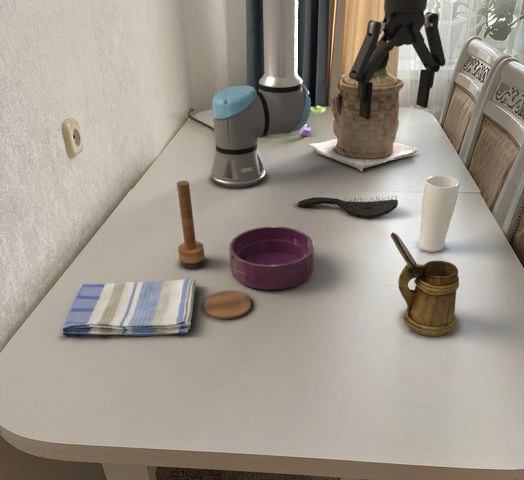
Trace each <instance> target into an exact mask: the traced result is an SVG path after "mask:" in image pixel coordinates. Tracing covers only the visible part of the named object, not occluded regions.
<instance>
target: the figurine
mask: <svg viewBox="0 0 524 480" xmlns="http://www.w3.org/2000/svg"><path fill="white" fill-rule="evenodd" d="M325 111H326V107H324V106H321V105H316V109H315V108H314V107H313V106H311V108H310V112H312V113H313V114H316V115H318V114H322V113H324V112H325ZM311 130H312V127H311V126H310V125H309V124H307V123H306V124H305V125H304V126H303V127H302V128H301V129H299V130H297V132H298V133H299V135H300V136H304V137H308V136H309V135H310V133H311Z"/></svg>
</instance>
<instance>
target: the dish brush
mask: <svg viewBox="0 0 524 480" xmlns="http://www.w3.org/2000/svg"><path fill="white" fill-rule="evenodd" d="M176 189H177V197H178V205H179V212H180V220H181V226H182V227H181V228H182V235H183V242H182V243H180V244H178V246H177V251H178V258H179V261H180V265H181V267H182V268H184V269H186V270H197V269H199V268H201V267H202V266H204V264H205V249H204V248H205V247H204V244H203V243H202V242H200V241H197V240H196V232H195V231H196V230H195V223H194V216H193V215H194V214H193V213H194V212H193V205H192V196H191V189H190V182H189V181H188V180H179V181H177V182H176Z"/></svg>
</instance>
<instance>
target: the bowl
mask: <svg viewBox="0 0 524 480" xmlns="http://www.w3.org/2000/svg"><path fill="white" fill-rule="evenodd" d="M228 252H229V263H230V272H231V274H232V277H233V278H234V279H235V280H236V281H238V282H239V283H241V284H243V285H245V286H248V287H250V288H253V289H256V290H262V291H263V290H264V291H279V290H285V289H291V288H292V287H295V286H297V285H300V284H301V283H303V282H305V281H307V280H308V279H309V278H310V277H311V276H312V273H313V271H314V261H315V259H314V258H315V243H314V241H313V239H312V238H311V237H310V235H308V234H307V233H305V232H303V231H301V230H298V229H295V228H292V227H286V226H279V225H278V226H261V227H255V228H252V229H247V230H244V231H243V232H241V233H239V234H237V235H236V236H234V237H233V239H232V240H231V241H230V243H229V249H228Z"/></svg>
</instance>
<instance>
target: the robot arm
mask: <svg viewBox="0 0 524 480" xmlns="http://www.w3.org/2000/svg"><path fill="white" fill-rule="evenodd" d="M428 2H429V0H384V1H383V11H384V17H383V20H382V21H376V20H373V19H370V20H369V21H368V22H367V28H366V34H365V36H364V38H363V41H362V44H361V46H360V48H359V51H358V53H357V55H356V57H355V59H354V62H353V64H352V67H351V69H350V71H349V73H350V74H349V73H348V74H349V77H350V78H351V79H354V80H356V81H358V94H357V98H358V100H360V110H359V116H361V117H362V118H364V119H366V120H367V119H370V110H371V98H372V87H373V83H371V82H369V81H370V79H371V78H372V76H373V75H374V73H375V72H376V70H377V69H378V67H379V66H380V64H381V63H382V61H383V60H384V58H385V57H386V55H387V54H388V52H389V53H390V52H391V51H393V50H394V48H395V47H403V46H410V45H411V46H412V47H413V49H414V51H415V53H416V54H417V56H418V58H419V60H420V62H421V63H422V65H423V67H424V69H420V73H419V80H418V86H417V95H416V102H415V105H416V106H419V107H421V108H423V109H426V108H428V105H429V98H430V91H431V89H433V87H434V81H435V74H436V73H438V72H439V71H440V69H441V67H444V66H445V65H446V58H445V57H446V56H445V54H444V48H443V44H442V39H441V34H440V31H439V30H440V29H439V14H438V13H434V12H431V11H427V12H426V13H425V11H426V10H427V8H428ZM262 9H263V10H262V12H263V13H262V14H263V21H262V23H263V59H264V60H263V61H264V62H263V63H264V64H263V65H264V66H263V68H264V74H263V75H262V77H260V79H259V80H258V90H256V88H255V87H254V86H251V85H236V86H230V87H228V88H224V89H222V90H220V91H218V92H217V93H216V94H215V95H214V96H213V97H212V112H211V115H212V121H213V122H212V123H213V126H211V125H209V124H207V123H205V122H203V121H201V120H199V119H197V118H195V117H193V116H191V113H192V112H195V109H194V108H193V107H191V108H190V109H189V110H188V112H187V117H188V118H189V119H191V120H193V121H194V122H196V123H198V124H200V125H203V126H204V127H206V128H208V129H210V130H211V131H213V133H214V144H215V155H214V159H213V164H212V168H211V172H210V174H211V175H210V176H211V181H212V183H214V184H215V185H217V186H219V187H223V188H226V189H227V188H228V189H242V188H244V189H245V188H251V187H253V186H256V185H259V184H261V183H262V182H264V181H265V179H266V170H265V166H264V164H263V161H262V158H261V156H260V155H261V154H260V152H259V147H258V145H259V143H258V139H260V138H264V137H269V136H275V135H281V134H290V133H292V132H296V131H298V130H299V129H301V128H302V127H303V126H304V125H305V124H306V125H307V122H308V121H309V118H310V114H311V110H310V108H311V107H312V106H311V104H312V102H311V101H312V100H311V97H310V91H309V90H308V87H307V86H305V85H304V84H303V79H302V78H301V77H300V75H299V74H298V24H299V23H298V21H299V19H298V13H299V12H298V11H299V10H298V9H299V0H262ZM423 27H424V33H425V36H426V40H427V44H428V46H427V44H426V42H425V38H424V36H423V34H422V32H421V30H422V28H423ZM380 35H381V37H380ZM377 41H378V46H377V47H376V49H375V50H374V48H375V46H376V44H377ZM373 51H374V52H373Z"/></svg>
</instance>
